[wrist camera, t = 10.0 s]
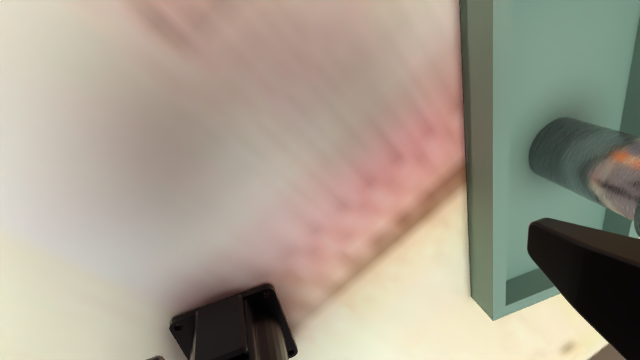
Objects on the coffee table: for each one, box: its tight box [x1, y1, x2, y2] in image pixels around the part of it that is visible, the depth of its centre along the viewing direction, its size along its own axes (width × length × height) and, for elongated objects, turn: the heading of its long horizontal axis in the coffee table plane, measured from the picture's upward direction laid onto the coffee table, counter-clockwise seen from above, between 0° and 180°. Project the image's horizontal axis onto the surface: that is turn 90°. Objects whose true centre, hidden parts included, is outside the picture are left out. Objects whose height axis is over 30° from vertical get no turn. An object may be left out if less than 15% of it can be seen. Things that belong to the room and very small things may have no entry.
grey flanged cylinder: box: [529, 117, 640, 237], centre depth 20 cm, size 5×5×8 cm
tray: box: [460, 0, 640, 321], centre depth 23 cm, size 22×12×2 cm, turn 14°
